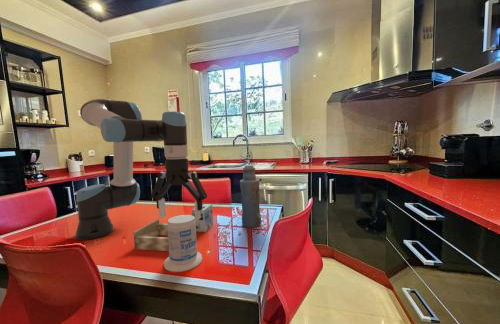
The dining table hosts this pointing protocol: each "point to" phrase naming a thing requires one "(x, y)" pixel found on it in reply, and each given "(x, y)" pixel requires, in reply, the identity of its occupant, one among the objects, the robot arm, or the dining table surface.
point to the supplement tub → (182, 239)
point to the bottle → (250, 198)
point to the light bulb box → (204, 218)
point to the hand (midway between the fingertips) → (180, 218)
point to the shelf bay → (152, 237)
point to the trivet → (183, 267)
